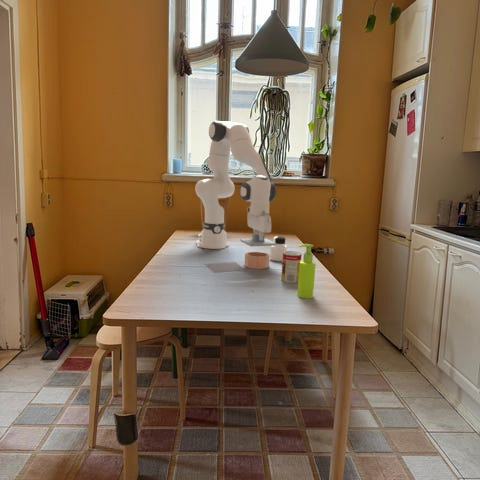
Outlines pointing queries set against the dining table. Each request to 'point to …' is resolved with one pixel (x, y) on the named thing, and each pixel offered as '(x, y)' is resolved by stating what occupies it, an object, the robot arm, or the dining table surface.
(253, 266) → the bowl
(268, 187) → the robot arm
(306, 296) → the soap dispenser
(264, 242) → the lid
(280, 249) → the medicine bottle
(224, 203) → the pancake mix bag
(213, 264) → the mat
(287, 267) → the canned food
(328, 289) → the dining table surface
